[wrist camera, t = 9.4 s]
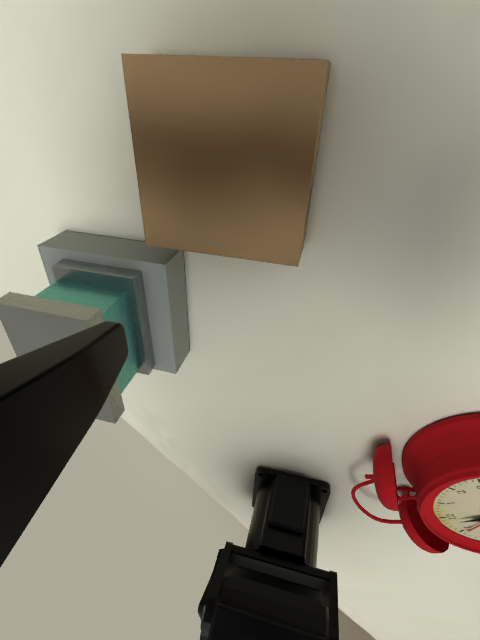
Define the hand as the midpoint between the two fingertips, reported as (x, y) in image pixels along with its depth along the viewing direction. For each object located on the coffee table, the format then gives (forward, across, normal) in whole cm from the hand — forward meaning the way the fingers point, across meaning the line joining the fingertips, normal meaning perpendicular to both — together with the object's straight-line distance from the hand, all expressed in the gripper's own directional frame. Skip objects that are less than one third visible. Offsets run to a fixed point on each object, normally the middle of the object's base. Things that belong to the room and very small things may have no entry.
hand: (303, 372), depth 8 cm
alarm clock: (+12, -12, +17) cm, 24 cm away
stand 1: (+12, +12, +7) cm, 18 cm away
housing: (+10, +12, +7) cm, 17 cm away
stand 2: (+12, +5, -2) cm, 13 cm away
